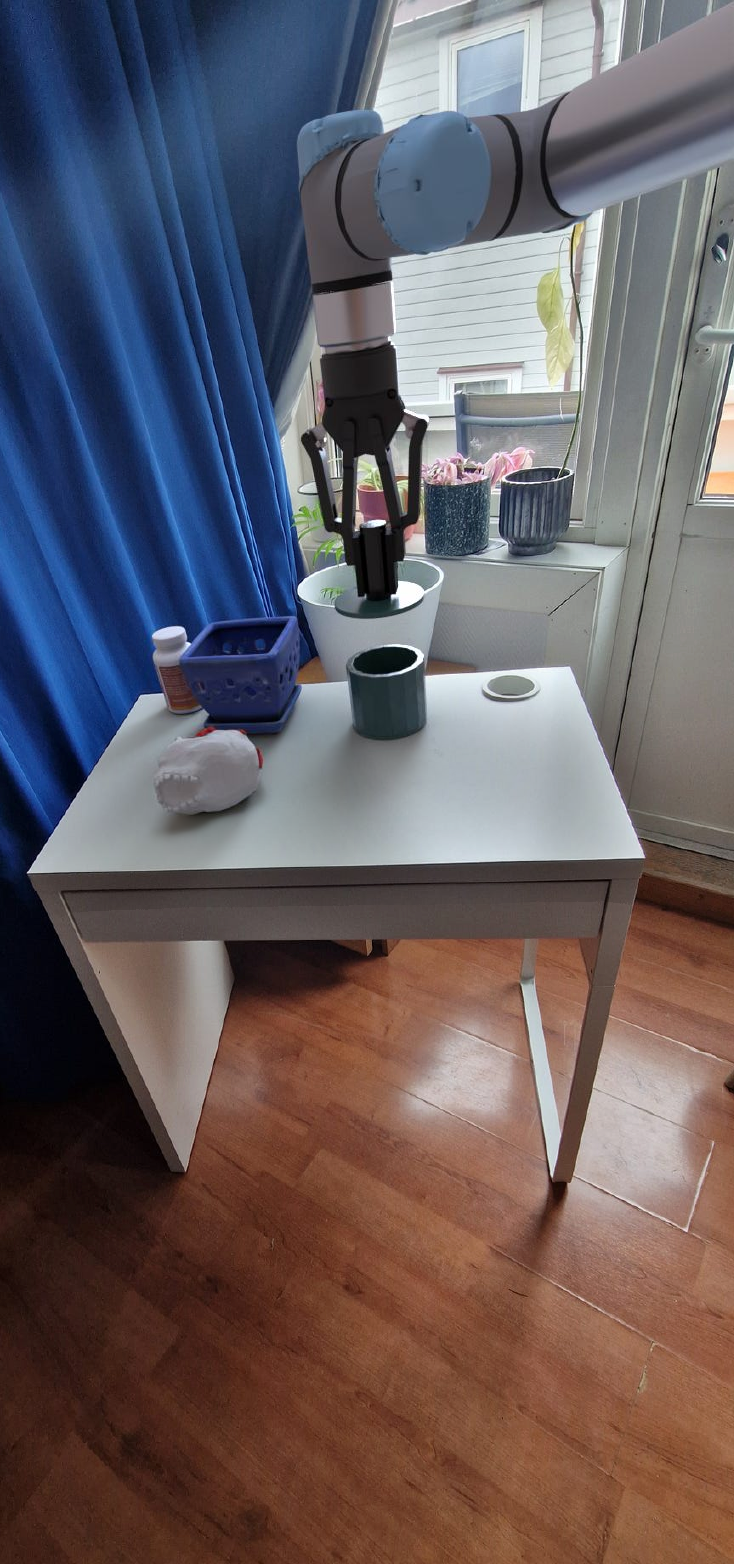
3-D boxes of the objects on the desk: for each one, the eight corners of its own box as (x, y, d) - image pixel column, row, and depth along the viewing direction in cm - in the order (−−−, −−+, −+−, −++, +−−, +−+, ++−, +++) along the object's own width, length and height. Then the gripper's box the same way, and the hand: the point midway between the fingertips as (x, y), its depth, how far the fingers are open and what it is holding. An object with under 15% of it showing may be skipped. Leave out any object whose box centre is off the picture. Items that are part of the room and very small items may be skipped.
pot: (429, 703, 99) (426, 642, 93) (423, 738, 91) (419, 675, 86) (359, 705, 101) (352, 646, 95) (348, 740, 94) (340, 678, 88)
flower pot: (196, 743, 99) (173, 659, 91) (227, 698, 108) (208, 618, 101) (290, 742, 95) (273, 655, 88) (313, 695, 105) (300, 613, 97)
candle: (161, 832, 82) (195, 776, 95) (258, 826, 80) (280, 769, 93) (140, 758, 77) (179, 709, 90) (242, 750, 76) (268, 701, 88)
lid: (428, 587, 89) (424, 506, 83) (420, 621, 81) (415, 533, 76) (343, 594, 92) (334, 515, 86) (328, 627, 84) (316, 542, 78)
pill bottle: (217, 701, 108) (199, 628, 101) (184, 719, 105) (163, 644, 98) (192, 692, 112) (173, 620, 105) (160, 709, 109) (137, 636, 102)
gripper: (443, 329, 71) (449, 575, 86) (286, 353, 75) (318, 585, 90) (438, 336, 66) (445, 598, 81) (268, 362, 70) (305, 608, 84)
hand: (378, 591), depth 85 cm, fingers closed on lid, 3 cm apart
